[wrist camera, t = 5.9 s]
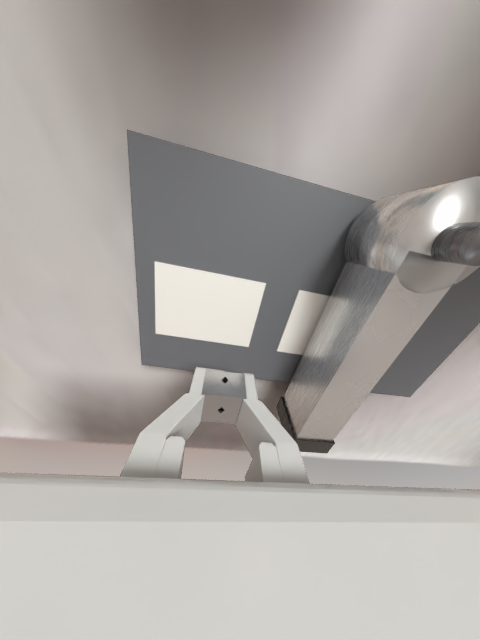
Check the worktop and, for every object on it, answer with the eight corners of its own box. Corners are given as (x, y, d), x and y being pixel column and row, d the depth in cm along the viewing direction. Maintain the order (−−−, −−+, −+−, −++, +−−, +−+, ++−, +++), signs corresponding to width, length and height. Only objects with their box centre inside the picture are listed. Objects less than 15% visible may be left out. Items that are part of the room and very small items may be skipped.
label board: (519, 249, 10) (549, 250, 9) (399, 387, 16) (410, 398, 15) (139, 142, 8) (125, 128, 7) (147, 355, 13) (141, 365, 12)
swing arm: (366, 187, 8) (493, 143, 4) (434, 207, 8) (602, 185, 4) (271, 406, 14) (286, 467, 10) (312, 410, 14) (339, 469, 11)
